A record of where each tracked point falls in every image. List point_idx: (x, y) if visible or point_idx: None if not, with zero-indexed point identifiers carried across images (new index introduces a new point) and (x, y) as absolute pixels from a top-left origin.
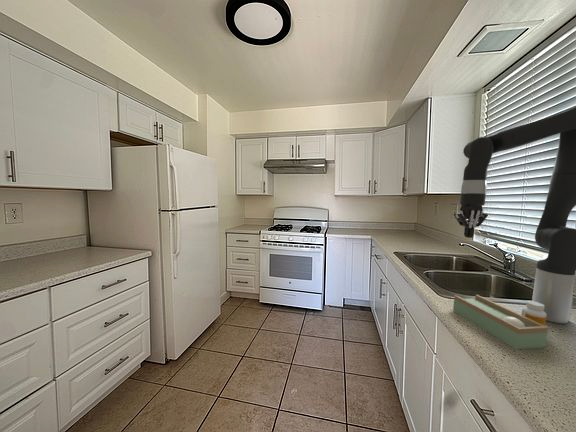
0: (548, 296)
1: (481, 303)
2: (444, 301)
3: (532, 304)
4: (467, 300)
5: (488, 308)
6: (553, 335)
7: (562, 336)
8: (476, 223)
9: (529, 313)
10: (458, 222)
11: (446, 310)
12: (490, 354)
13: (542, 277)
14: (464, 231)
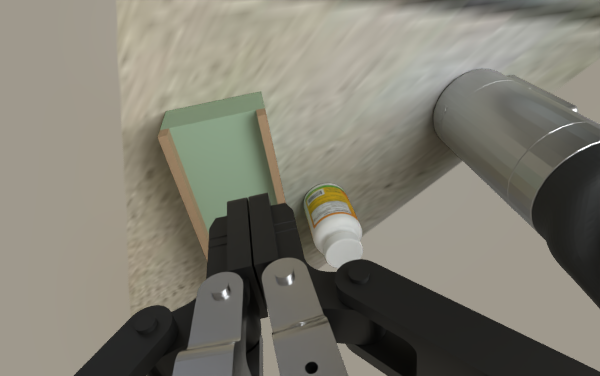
0: (475, 170)
1: (250, 150)
2: (171, 24)
3: (327, 262)
4: (211, 133)
5: (247, 184)
6: (368, 204)
7: (386, 204)
8: (357, 340)
9: (315, 245)
10: (89, 360)
11: (141, 110)
12: (152, 290)
13: (512, 186)
14: (209, 252)
